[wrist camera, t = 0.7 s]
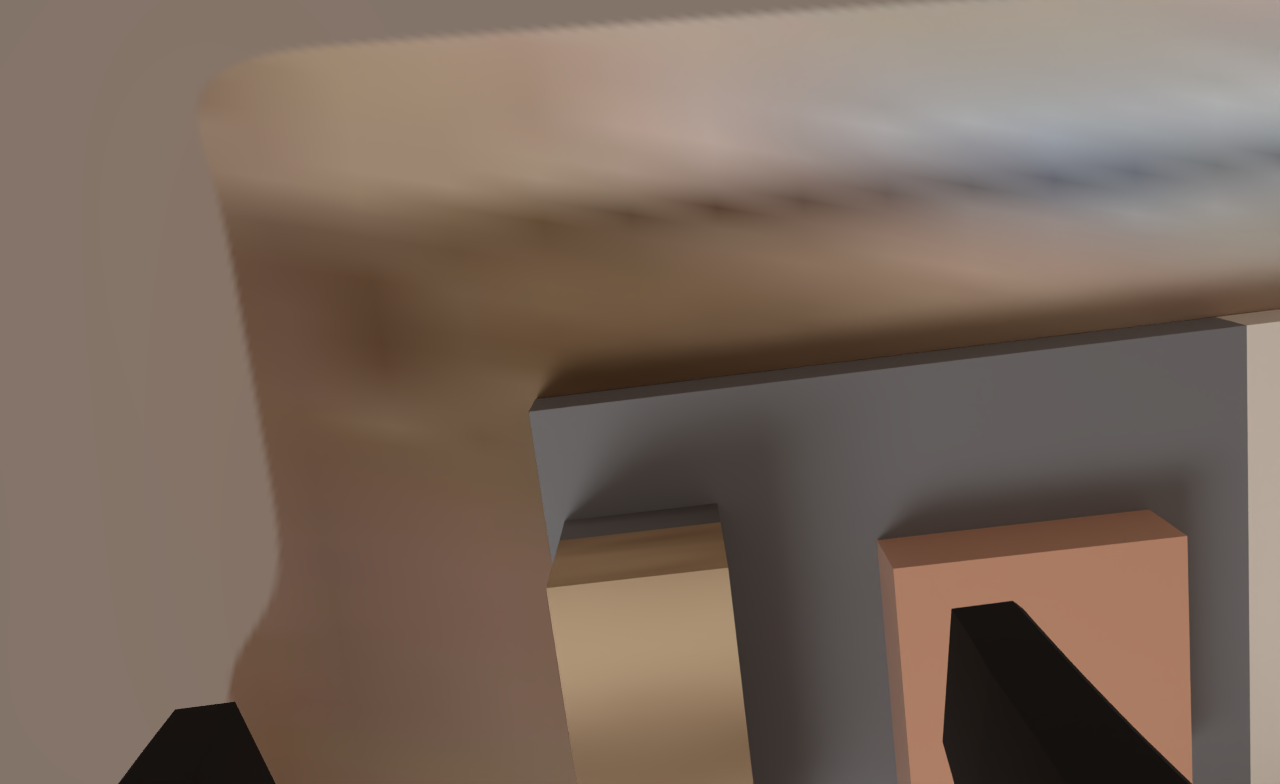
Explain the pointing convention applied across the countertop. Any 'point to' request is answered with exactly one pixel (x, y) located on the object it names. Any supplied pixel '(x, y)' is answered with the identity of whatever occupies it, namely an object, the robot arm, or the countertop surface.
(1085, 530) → the tile
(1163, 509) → the board
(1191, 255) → the countertop surface
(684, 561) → the block
